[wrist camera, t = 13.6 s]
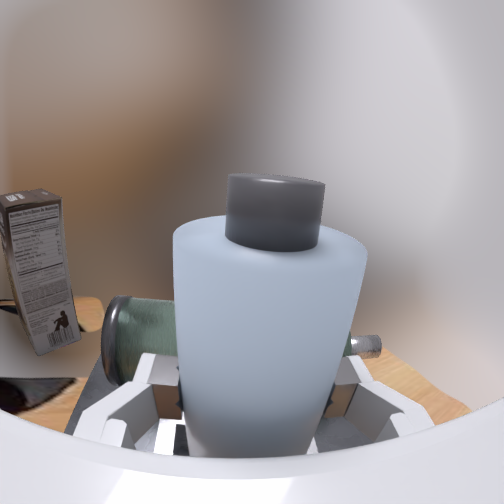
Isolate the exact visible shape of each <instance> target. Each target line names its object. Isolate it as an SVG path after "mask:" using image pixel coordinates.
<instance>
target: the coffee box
mask: <svg viewBox="0 0 504 504" xmlns="http://www.w3.org/2000/svg"><path fill="white" fill-rule="evenodd" d="M0 232H1V239H2V246H3V252H4V257H5V262H6V267H7V272H8V277H9V281H10V285H11V289H12V293H13V297H14V301H15V304H16V308H17V311H18V314H19V318H20V321H21V323H22V325H23V327H24V330H25V332H26V334H27V336H28V338H29V340H30V342H31V344H32V346H33V348H34V350H35V352H36V354H37V355H38V356H41V355H43V354H46V353H48V352H51V351H53V350H56V349H58V348H60V347H63V346H66V345H68V344H70V343H73V342H76V341H78V340H81V333H80V329H79V325H78V321H77V316H76V311H75V306H74V301H73V295H72V289H71V283H70V276H69V270H68V262H67V254H66V245H65V236H64V224H63V209H62V197H60V196H57V195H55V194H53V193H50V192H48V191H46V190H43V189H36V190H31V191H20V192H14V193H8V194H4V195H0Z"/></svg>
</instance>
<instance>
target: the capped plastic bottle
mask: <svg viewBox="0 0 504 504" xmlns="http://www.w3.org/2000/svg"><path fill="white" fill-rule="evenodd" d="M324 191H325V184H324V183H321V182H317V181H313V180H308V179H302V178H296V177H288V176H280V175H269V174H268V175H267V174H250V173H239V174H229V175H228V189H227V207H226V215H225V216H215V217H208V218H202V219H198V220H194V221H191V222H188V223H186V224H184V225H182V226H180V227H179V228H177V230H176V231H175V232H174V234H173V271H174V299H175V300H174V301H175V321H176V337H177V351H178V363H179V374H180V384H181V394H182V403H183V411H184V419H185V427H186V434H187V441H188V448H189V455H190V457H207V458H268V457H285V456H296V455H306V454H307V451H308V449H309V447H310V444H311V442H312V439H313V437H314V434H315V432H316V429H317V427H318V424H319V422H320V419H321V417H322V414H323V411H324V408H325V406H326V403H327V400H328V397H329V395H330V392H331V389H332V386H333V383H334V380H335V377H336V374H337V371H338V368H339V365H340V361H341V358H342V355H343V352H344V348H345V345H346V342H347V338H348V335H349V331H350V327H351V323H352V320H353V316H354V312H355V309H356V305H357V301H358V297H359V292H360V288H361V284H362V280H363V275H364V271H365V266H366V262H367V257H368V255H367V250H366V248H365V247H364V246H363V245H362V244H361V243H360V242H359V241H357V240H356V239H354V238H352V237H351V236H349V235H347V234H344V233H342V232H340V231H337V230H334V229H332V228H329V227H325V226H322V225H320V223H321V215H322V208H323V200H324Z"/></svg>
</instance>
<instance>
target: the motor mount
mask: <svg viewBox="0 0 504 504" xmlns="http://www.w3.org/2000/svg"><path fill="white" fill-rule="evenodd" d="M381 349H382V343H381V339H380V338H379V336H378V335H367V336H351V334H350V331H349V335H348V338H347V342H346V345H345V348H344V352H343V355H342V357H346V356H354V355H358V356H360V357H361V359H370V358H377V357H379V355H380V353H381ZM143 353H150V354H160V355H169V356H178V351H177V337H176V321H175V301H167V300H154V299H141V298H133V297H132V296H122V295H117V296H115V297H114V298H113V299H112V300H111V302H110V304H109V306H108V308H107V311H106V314H105V317H104V321H103V326H102V335H101V355H100V357H99V358H98V360H97V363H96V364H95V366H94V368H93V370H92V372H91V375H90V376H89V378H88V381H87V383H86V385H85V387H84V389H83V391H82V393H81V395H80V397H79V400H78V402H77V404H76V406H75V408H74V411H73V413H72V415H71V417H70V420H69V422H68V424H67V427H66V429H65V431H64V433H65V434H68V435H72V436H73V434H74V431H75V429H76V426H77V424H78V422H79V419H80V417H81V415H82V412H83V411H84V410H86V409H87V408H89V407H90V406H92V405H93V404H95V403H96V402H98V401H100V400H101V399H103V398H104V397H106V396H107V395H109V394H110V393H112V392H113V391H115V390H116V389H118V388H119V387H121V386H122V385H124V384H125V383H127V382H128V381H129V382H132V381H133V378H134V375H135V372H136V369H137V366H138V364H139V361H140V358H141V355H142V354H143ZM158 419H159V420H158V421H157V422H156V423H155V424H154V425H153V426H152V427H151V428H150V429H149V430H148V431H147V432H146V433H145V434H144V435H143V436H142V437H141V438H140V439H139V440H138V441H137V442H136V443H135V444H134V445H135V448H136V450H139V451H146V452H153V453H160V454H169V455H179V456H190V455H189V448H188V441H187V434H186V427H185V419H184V411H183V415H182V420H173V419H160V418H158ZM373 443H374V442H373V441H372V440H370V439H369V438H368V437H367V436H366V435H364V434H363V433H362V432H361V431H360V430H359V429H357V428H356V427H355V426H354V425H353V424H352V423H350V422H349V421H348V420H347V419H346V418H345V416H342V417H332V418H323V415H322V417H321V419H320V422H319V424H318V427H317V429H316V432H315V434H314V437H313V439H312V442H311V444H310V447H309V449H308V451H307V454H315V453H322V452H329V451H336V450H342V449H348V448H353V447H358V446H363V445H368V444H373Z"/></svg>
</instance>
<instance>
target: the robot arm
mask: <svg viewBox="0 0 504 504" xmlns="http://www.w3.org/2000/svg"><path fill="white" fill-rule="evenodd" d="M182 415H183V403H182V394H181V384H180V374H179V363H178V356H169V355H160V354H150V353H143V354H142V355H141V358H140V361H139V364H138V366H137V369H136V372H135V375H134V378H133V381H132V382H129V381H128V382H127V383H125V384H124V385H122V386H121V387H119V388H118V389H116V390H115V391H113V392H112V393H110V394H109V395H107V396H106V397H104V398H103V399H101V400H100V401H98V402H96V403H95V404H93V405H92V406H90V407H89V408H87V409H86V410H84V411H83V412H82V415H81V417H80V419H79V422H78V424H77V426H76V429H75V431H74V434H73V436H72V435H68V434H65V433H61V432H58V431H55V430H52V429H49V428H46V427H43V426H40V425H37V424H35V423H32V422H29V421H27V420H24V419H22V418H19V417H17V416H14V415H12V414H9V413H7V412H5V411H2V410H0V504H504V397H503V398H501V399H499V400H497V401H495V402H493V403H491V404H489V405H486V406H484V407H482V408H480V409H478V410H475V411H473V412H471V413H468V414H466V415H463V416H461V417H458V418H456V419H453V420H450V421H448V422H445V423H442V424H439V425H437V426H435V424H434V423H433V421H432V420H431V418H430V416H429V415H428V413H427V412H426V410H425V409H424V407H423V406H422V405H420V404H418V403H416V402H414V401H413V400H411V399H409V398H407V397H405V396H404V395H402V394H400V393H398V392H396V391H395V390H393V389H391V388H389V387H388V386H386V385H384V384H382V383H381V382H379V381H374V380H373V378H372V376H371V374H370V373H369V371H368V369H367V368H366V366H365V364H364V363H363V361H362V359H361V357H360V356H358V355H354V356H346V357H342V358H341V361H340V365H339V368H338V371H337V374H336V377H335V380H334V383H333V386H332V389H331V392H330V395H329V397H328V400H327V403H326V406H325V408H324V411H323V414H322V415H323V418H332V417H342V416H345V418H346V419H347V420H348V421H349V422H350V423H352V424H353V425H354V426H355V427H356V428H357V429H359V430H360V431H361V432H362V433H363V434H364V435H366V436H367V437H368V438H369V439H370V440H372V441H373V442H374V443H373V444H368V445H363V446H358V447H353V448H348V449H342V450H336V451H329V452H322V453H315V454H306V455H296V456H285V457H268V458H207V457H190V456H179V455H169V454H160V453H153V452H146V451H139V450H136V448H135V445H134V444H135V443H136V442H137V441H138V440H139V439H140V438H141V437H142V436H143V435H144V434H145V433H146V432H147V431H148V430H149V429H150V428H151V427H152V426H153V425H154V424H155V423H156V422H157V421H158V420H159V419H158V418H160V419H173V420H182Z"/></svg>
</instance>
